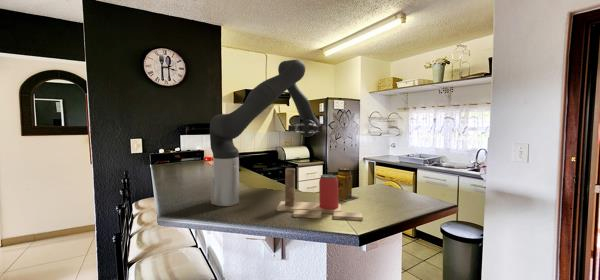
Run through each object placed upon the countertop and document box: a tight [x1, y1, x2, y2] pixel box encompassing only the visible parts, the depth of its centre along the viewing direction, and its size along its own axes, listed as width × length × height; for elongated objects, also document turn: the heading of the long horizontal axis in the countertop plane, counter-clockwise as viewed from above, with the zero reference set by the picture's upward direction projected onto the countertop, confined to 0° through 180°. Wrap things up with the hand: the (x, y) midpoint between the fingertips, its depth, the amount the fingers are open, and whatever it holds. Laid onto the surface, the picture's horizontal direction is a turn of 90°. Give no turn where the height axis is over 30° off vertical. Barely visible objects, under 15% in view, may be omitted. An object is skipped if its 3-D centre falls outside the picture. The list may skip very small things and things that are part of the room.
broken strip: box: [292, 210, 364, 221], centre depth 85 cm, size 22×4×1 cm, turn 83°
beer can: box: [318, 173, 339, 210], centre depth 92 cm, size 7×7×12 cm
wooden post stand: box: [276, 167, 342, 215], centre depth 92 cm, size 22×8×14 cm, turn 83°
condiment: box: [336, 167, 359, 202], centre depth 107 cm, size 7×8×12 cm
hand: (304, 128), depth 103 cm, fingers open, 8 cm apart
